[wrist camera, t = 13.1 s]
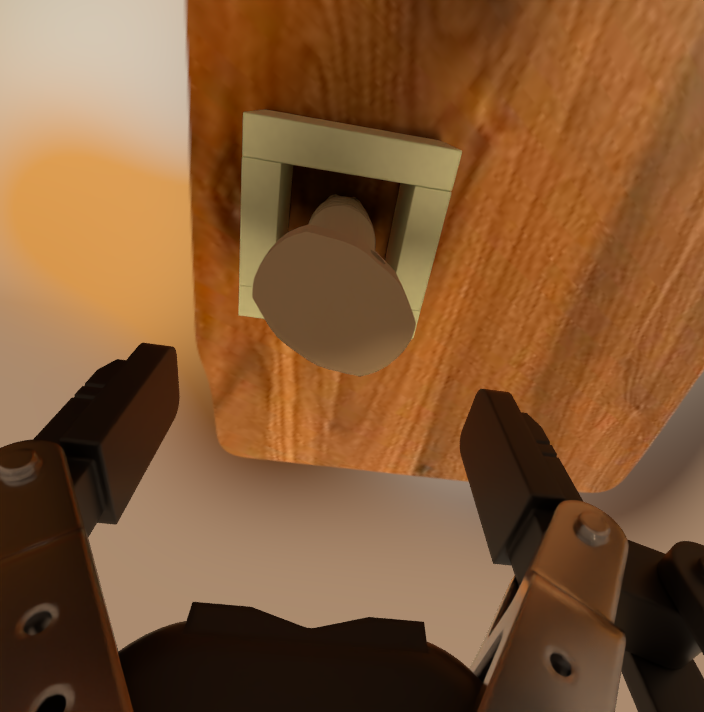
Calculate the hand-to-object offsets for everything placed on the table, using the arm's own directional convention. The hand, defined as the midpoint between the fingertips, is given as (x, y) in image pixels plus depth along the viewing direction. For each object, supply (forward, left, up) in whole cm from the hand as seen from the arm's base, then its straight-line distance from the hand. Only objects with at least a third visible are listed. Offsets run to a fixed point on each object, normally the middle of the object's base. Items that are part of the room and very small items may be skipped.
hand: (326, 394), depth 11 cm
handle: (0, 0, -21) cm, 21 cm away
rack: (0, 0, -20) cm, 20 cm away
